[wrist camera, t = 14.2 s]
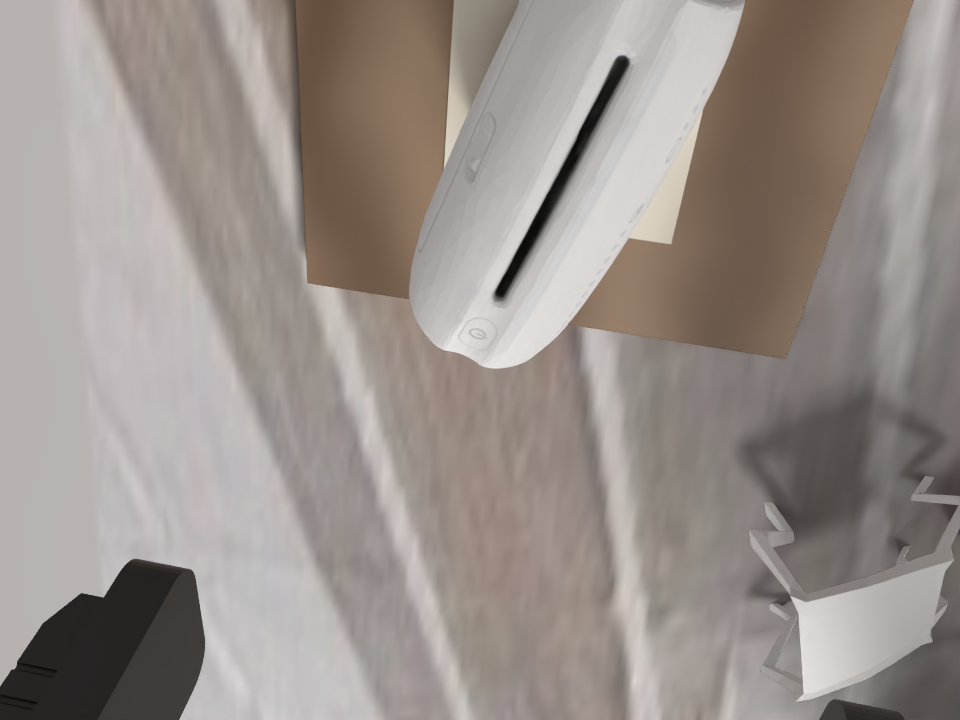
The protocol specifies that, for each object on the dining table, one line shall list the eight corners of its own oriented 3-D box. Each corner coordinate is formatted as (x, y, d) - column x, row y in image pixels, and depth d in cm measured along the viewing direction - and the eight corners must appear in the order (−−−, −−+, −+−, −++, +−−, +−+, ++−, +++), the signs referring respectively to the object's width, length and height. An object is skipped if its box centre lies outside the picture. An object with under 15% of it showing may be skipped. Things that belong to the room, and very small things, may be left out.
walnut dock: (1055, -436, 21) (1115, -454, 18) (783, 342, 34) (793, 402, 31) (287, -502, 22) (233, -528, 19) (315, 269, 35) (285, 319, 33)
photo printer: (575, 194, 31) (532, 436, 21) (458, 139, 30) (358, 361, 20) (747, -117, 24) (801, 20, 15) (603, -193, 24) (560, -103, 14)
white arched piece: (760, 435, 37) (771, 524, 33) (975, 466, 36) (1012, 561, 32) (702, 619, 44) (705, 710, 40) (879, 648, 43) (900, 744, 40)
